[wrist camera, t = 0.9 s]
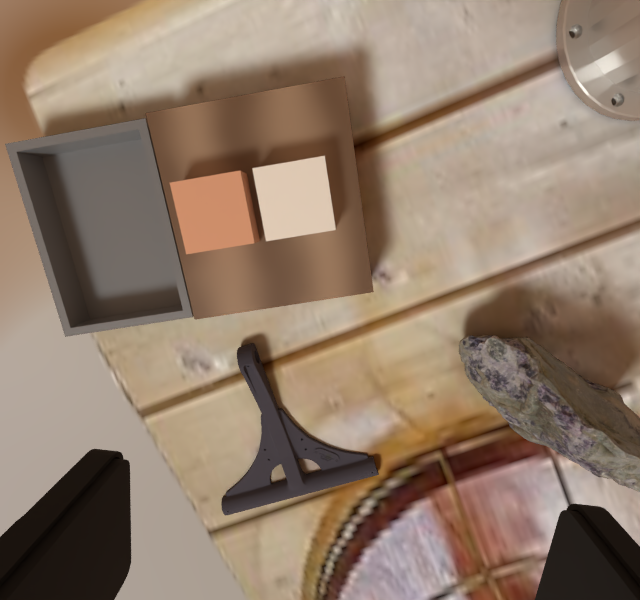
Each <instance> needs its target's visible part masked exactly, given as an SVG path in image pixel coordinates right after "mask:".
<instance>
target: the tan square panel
mask: <svg viewBox="0 0 640 600" xmlns="http://www.w3.org/2000/svg"><path fill="white" fill-rule="evenodd" d="M146 117H147V121H148V125H149V129H150V134H151V138H152V142H153V146H154V150H155V155H156V159H157V163H158V167H159V172H160V176H161V180H162V184H163V188H164V193H165V197H166V201H167V205H168V209H169V214H170V218H171V222H172V226H173V231H174V235H175V239H176V243H177V247H178V252H179V256H180V260H181V264H182V268H183V273H184V277H185V281H186V285H187V289H188V294H189V298H190V302H191V306H192V311H193V315H194V319H201V318H208V317H214V316H221V315H227V314H234V313H240V312H247V311H253V310H260V309H266V308H273V307H279V306H286V305H292V304H299V303H305V302H312V301H318V300H325V299H331V298H338V297H344V296H351V295H357V294H364V293H370V292H374V291H373V284H372V277H371V269H370V262H369V254H368V247H367V240H366V232H365V225H364V218H363V210H362V203H361V195H360V188H359V181H358V173H357V166H356V158H355V151H354V144H353V136H352V129H351V122H350V114H349V107H348V99H347V92H346V85H345V77H339V78H333V79H328V80H323V81H317V82H312V83H306V84H301V85H295V86H290V87H285V88H279V89H274V90H268V91H263V92H257V93H252V94H247V95H241V96H236V97H230V98H225V99H220V100H214V101H209V102H203V103H198V104H192V105H187V106H182V107H176V108H171V109H165V110H160V111H154V112H149V113H146ZM320 156H325V161H326V168H327V175H328V181H329V188H330V194H331V201H332V208H333V214H334V221H335V228H336V230H333V231H327V232H321V233H314V234H308V235H302V236H296V237H290V238H284V239H278V240H272V241H266V238H265V233H264V228H263V223H262V217H261V212H260V207H259V201H258V196H257V191H256V186H255V180H254V175H253V170H252V168H257V167H263V166H269V165H274V164H280V163H286V162H292V161H297V160H303V159H309V158H315V157H320ZM234 171H242V172H244V173H246V174H247V177H248V182H249V187H250V192H251V197H252V203H253V208H254V213H255V218H256V223H257V229H258V234H259V239H260V241H259V242H257V243H253V244H247V245H241V246H235V247H229V248H223V249H216V250H210V251H204V252H198V253H192V254H186V251H185V247H184V242H183V238H182V234H181V229H180V225H179V221H178V217H177V212H176V208H175V204H174V200H173V195H172V191H171V187H170V183H171V182H177V181H182V180H188V179H194V178H200V177H205V176H211V175H217V174H223V173H228V172H234Z"/></svg>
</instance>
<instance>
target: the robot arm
mask: <svg viewBox="0 0 640 600" xmlns="http://www.w3.org/2000/svg"><path fill="white" fill-rule="evenodd" d="M570 36H571V37H570ZM556 45H557V51H558V57H559V63H560V65H561V68H562V71H563V73H564V76H565V79H566V80H567V82H568V84H569V85H570V87H571V88H572V90H573V91H574V93H575V94H576V95H577V96H578V97H579V98H580V99H581V100H582V101H583V102H584V103H585V104H586V105H587V106H589V107H590V108H592V109H594V110H595V111H597V112H598V113H600V114H603V115H606V116H608V117H611V118H614V119H620V120H628V121H636V120H640V0H562V2H561V5H560V9H559V15H558V20H557V33H556ZM130 517H131V516H130V465H129V461H128V460H123V455H122V453H121V452H118V451H108V450H100V449H92V450H90V451H89V452H88V453H87V454H86V455H85V456H84V457H83V458H82V459H81V460H80V461H79V462H78V463H77V464H76V465H74V466H73V467H72V468H71V469H70V471H68V472H67V474H65V475H64V476H63V477H62V478H61V479H60V480H59V481H58V482H57V483H56V484H55V485H54V486H53V487H52V488H51V489H50V490H49V491H48V492H47V493H46V494H45V495H44V496H43V497H42V498H41V499H40V500H39V501H38V502H37V503H36V504H35V505H34V506H33V507H32V508H31V509H30V510H29V511H28V512H27V513H26V514H25V515H24V516H22V517H21V518H20V519H19V520H17V521H16V522H15V523H14V524H13V525H12V526H11V527H10V528H9V529H8V530H7V531H6V532H5V533H4V534H3V535H2V536H1V537H0V600H114V599H115V597H116V595H117V593H118V592H119V590H120V588H121V587H122V585H123V583H124V581H125V579H126V577H127V574H128V572H129V568H130V564H131V520H130ZM535 600H640V547H639V545H638V544H637V543H636V542H635V541H634V540H633V539H632V538H631V537H630V535H629V534H628V533H627V532H626V531H625V530H624V529H623V528H622V527H621V525H620V524H619V523H618V522H617V521H616V520H615V519H614V518H613V517H612V515H611V514H610V513H609V512H608V511H607V510H605V509H604V508H602V507H598V506H589V505H581V504H571V505H570V506H568V508H567V510H564V511H562V512H561V513H560V516H559V519H558V522H557V526H556V529H555V533H554V536H553V539H552V543H551V546H550V550H549V553H548V557H547V560H546V563H545V567H544V570H543V574H542V577H541V581H540V584H539V588H538V591H537V594H536V598H535Z"/></svg>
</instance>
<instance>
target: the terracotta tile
mask: <svg viewBox="0 0 640 600" xmlns="http://www.w3.org/2000/svg"><path fill="white" fill-rule="evenodd" d="M170 187H171V191H172V195H173V200H174V204H175V208H176V212H177V217H178V221H179V225H180V229H181V234H182V238H183V242H184V247H185V251H186V254H192V253H198V252H204V251H210V250H216V249H223V248H229V247H235V246H241V245H247V244H253V243H257V242H259V241H260V239H259V234H258V229H257V223H256V218H255V213H254V208H253V203H252V197H251V192H250V187H249V182H248V177H247V174H246V173H244V172H242V171H234V172H228V173H223V174H217V175H211V176H205V177H200V178H194V179H188V180H182V181H177V182H171V183H170Z"/></svg>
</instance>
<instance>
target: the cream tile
mask: <svg viewBox="0 0 640 600" xmlns="http://www.w3.org/2000/svg"><path fill="white" fill-rule="evenodd" d="M252 170H253V175H254V180H255V186H256V191H257V196H258V201H259V207H260V212H261V217H262V223H263V228H264V233H265V238H266V241H272V240H278V239H284V238H290V237H296V236H302V235H308V234H314V233H321V232H327V231H333V230H336V228H335V221H334V214H333V208H332V201H331V194H330V188H329V181H328V175H327V168H326V161H325V156H320V157H315V158H309V159H303V160H297V161H292V162H286V163H280V164H274V165H269V166H263V167H257V168H252Z"/></svg>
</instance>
